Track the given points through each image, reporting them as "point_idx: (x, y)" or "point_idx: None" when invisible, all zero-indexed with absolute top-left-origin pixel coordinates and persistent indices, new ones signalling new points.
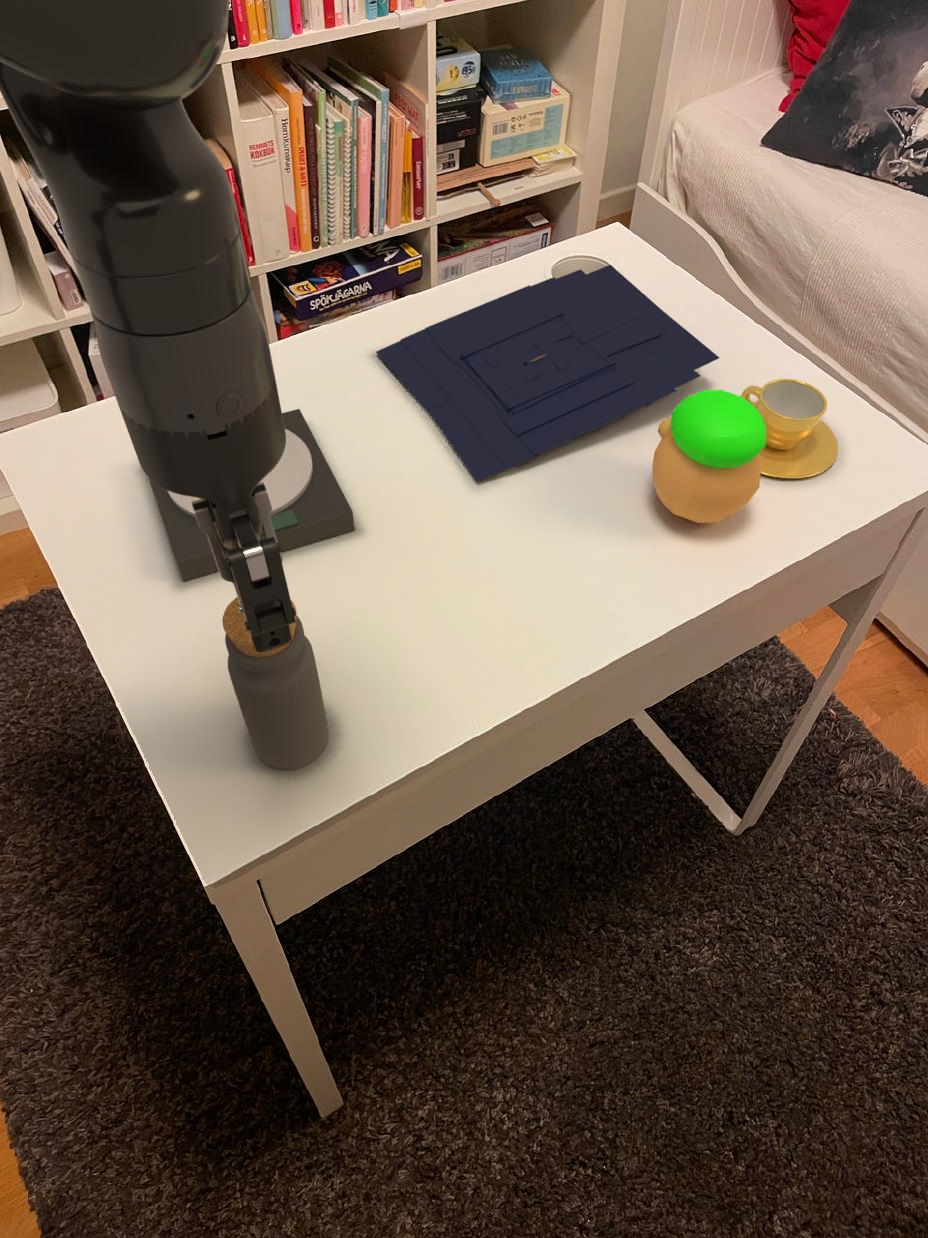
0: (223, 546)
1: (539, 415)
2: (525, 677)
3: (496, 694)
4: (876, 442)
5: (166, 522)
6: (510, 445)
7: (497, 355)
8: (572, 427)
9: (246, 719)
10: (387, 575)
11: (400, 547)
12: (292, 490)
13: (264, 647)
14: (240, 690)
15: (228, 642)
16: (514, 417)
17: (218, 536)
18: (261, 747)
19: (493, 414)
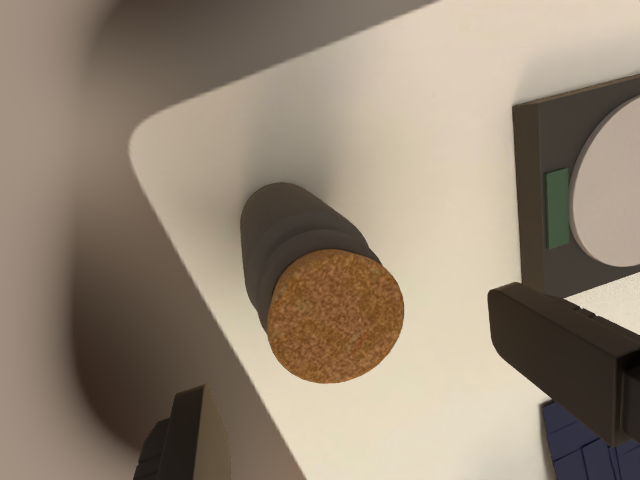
0: (504, 306)
1: (597, 469)
2: (313, 438)
3: (299, 414)
4: None
5: (601, 91)
6: (572, 440)
7: None
8: None
9: (265, 202)
10: (459, 322)
11: (489, 335)
12: (594, 245)
13: (142, 451)
14: (265, 225)
15: (316, 241)
16: (603, 446)
17: (532, 319)
18: (251, 203)
19: None
